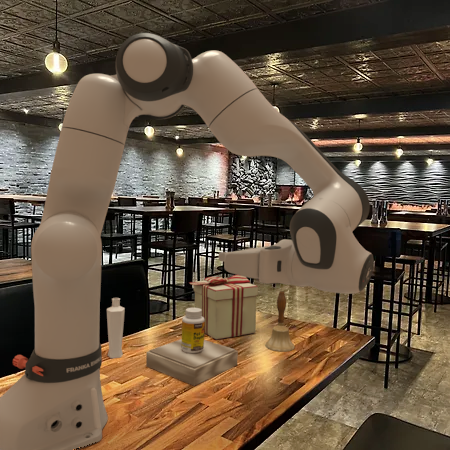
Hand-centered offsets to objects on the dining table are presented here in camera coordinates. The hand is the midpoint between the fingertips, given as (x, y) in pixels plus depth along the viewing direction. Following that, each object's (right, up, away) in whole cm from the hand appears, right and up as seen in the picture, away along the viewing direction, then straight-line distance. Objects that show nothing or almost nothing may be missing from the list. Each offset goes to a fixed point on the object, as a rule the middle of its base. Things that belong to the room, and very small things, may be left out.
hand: (234, 253), depth 95 cm
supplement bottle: (-10, -25, +13) cm, 30 cm away
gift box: (-4, -27, +43) cm, 51 cm away
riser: (-10, -29, +13) cm, 33 cm away
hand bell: (+14, -28, +29) cm, 43 cm away
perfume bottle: (-31, -28, +18) cm, 45 cm away
